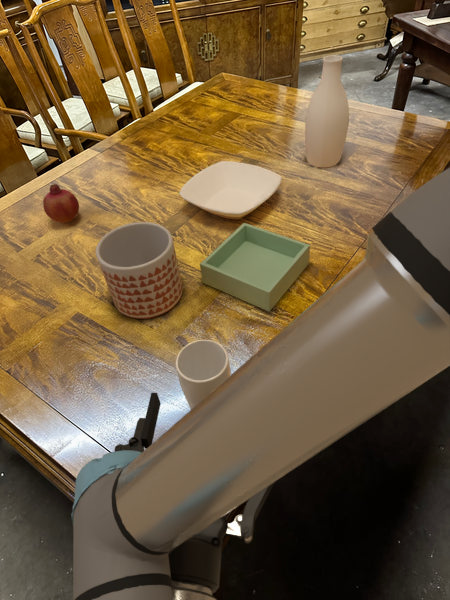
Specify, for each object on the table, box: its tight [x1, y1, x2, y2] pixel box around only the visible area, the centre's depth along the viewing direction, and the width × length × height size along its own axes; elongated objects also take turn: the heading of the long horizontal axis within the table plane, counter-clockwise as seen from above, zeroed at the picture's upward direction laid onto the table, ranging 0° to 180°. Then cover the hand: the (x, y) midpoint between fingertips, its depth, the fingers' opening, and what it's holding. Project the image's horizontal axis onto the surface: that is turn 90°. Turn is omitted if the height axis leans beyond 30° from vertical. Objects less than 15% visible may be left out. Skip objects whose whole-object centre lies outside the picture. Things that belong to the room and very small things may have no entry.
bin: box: [199, 222, 311, 312], centre depth 83 cm, size 16×16×5 cm
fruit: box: [42, 183, 80, 224], centre depth 100 cm, size 8×8×10 cm
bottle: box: [304, 54, 350, 169], centre depth 106 cm, size 11×11×25 cm
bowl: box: [178, 160, 283, 220], centre depth 102 cm, size 22×22×5 cm
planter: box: [95, 221, 184, 320], centre depth 78 cm, size 14×14×13 cm
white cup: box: [175, 339, 232, 410], centre depth 57 cm, size 7×7×15 cm
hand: (205, 399), depth 56 cm, fingers open, 13 cm apart
